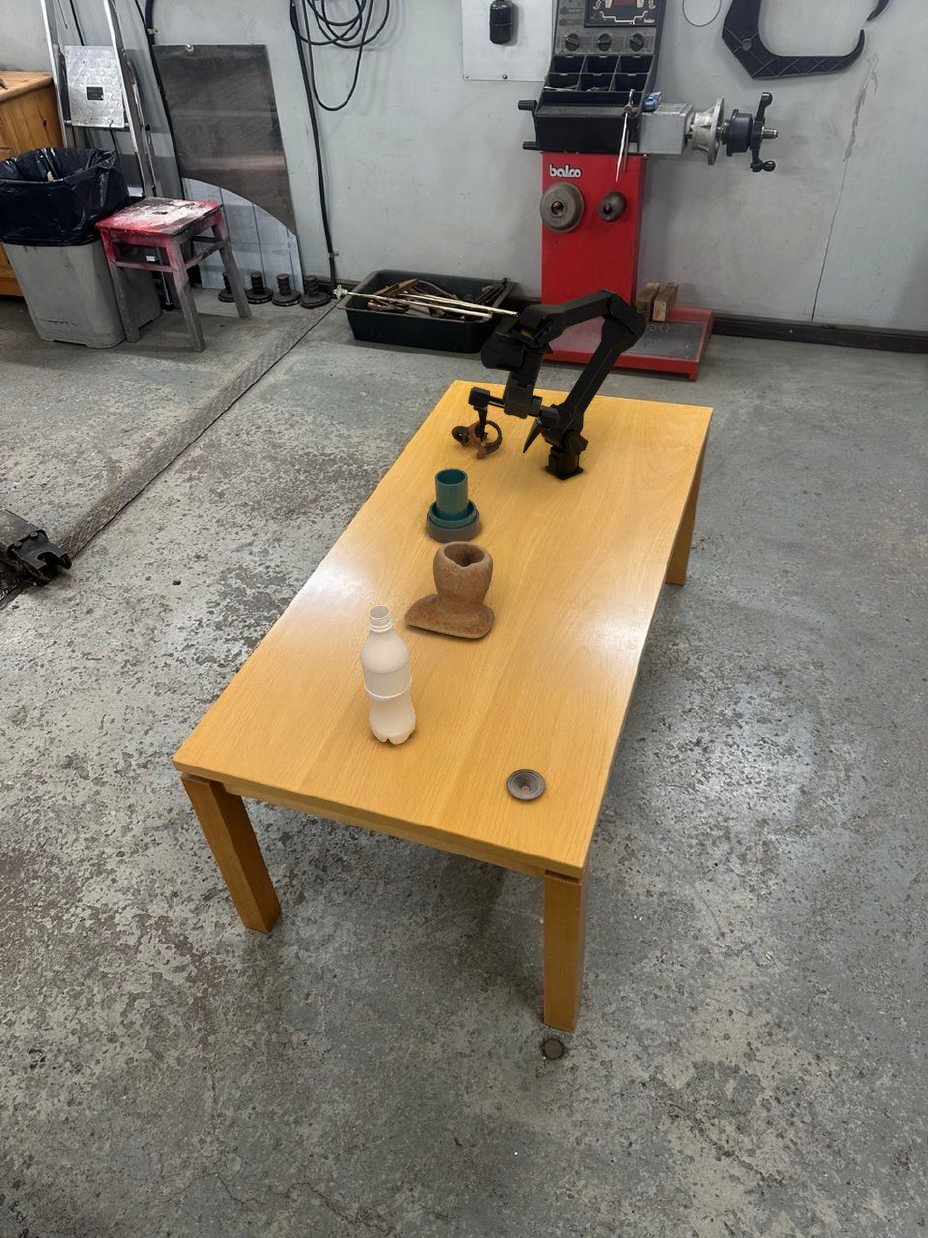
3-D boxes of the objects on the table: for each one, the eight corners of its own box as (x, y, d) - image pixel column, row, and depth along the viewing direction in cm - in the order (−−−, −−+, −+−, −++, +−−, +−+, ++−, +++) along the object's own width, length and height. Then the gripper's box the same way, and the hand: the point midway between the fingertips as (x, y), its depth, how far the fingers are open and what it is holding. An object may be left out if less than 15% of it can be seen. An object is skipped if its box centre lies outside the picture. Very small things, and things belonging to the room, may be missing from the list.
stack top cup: (459, 510, 181) (458, 490, 178) (485, 531, 175) (485, 511, 172) (421, 526, 177) (420, 506, 174) (447, 547, 171) (446, 527, 168)
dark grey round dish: (515, 808, 122) (515, 803, 122) (501, 780, 126) (501, 774, 126) (550, 798, 124) (550, 792, 123) (535, 769, 128) (536, 764, 127)
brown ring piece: (497, 438, 206) (506, 418, 198) (495, 471, 202) (504, 452, 195) (449, 428, 204) (456, 408, 196) (445, 462, 200) (453, 442, 193)
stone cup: (504, 608, 156) (504, 541, 147) (482, 649, 148) (480, 582, 138) (428, 591, 161) (424, 525, 151) (403, 630, 153) (396, 564, 143)
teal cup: (466, 510, 178) (465, 466, 171) (470, 528, 173) (469, 483, 166) (435, 513, 177) (433, 469, 170) (439, 531, 172) (436, 486, 166)
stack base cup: (460, 508, 182) (459, 495, 180) (489, 531, 175) (489, 518, 173) (417, 525, 178) (416, 512, 175) (446, 550, 171) (445, 536, 169)
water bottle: (371, 717, 137) (353, 597, 120) (416, 713, 137) (404, 593, 121) (371, 751, 131) (353, 631, 115) (417, 747, 132) (405, 626, 115)
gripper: (478, 367, 161) (458, 445, 168) (572, 393, 163) (548, 469, 170) (479, 357, 171) (459, 431, 178) (567, 382, 173) (544, 454, 180)
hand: (502, 447), depth 176 cm, fingers open, 9 cm apart
